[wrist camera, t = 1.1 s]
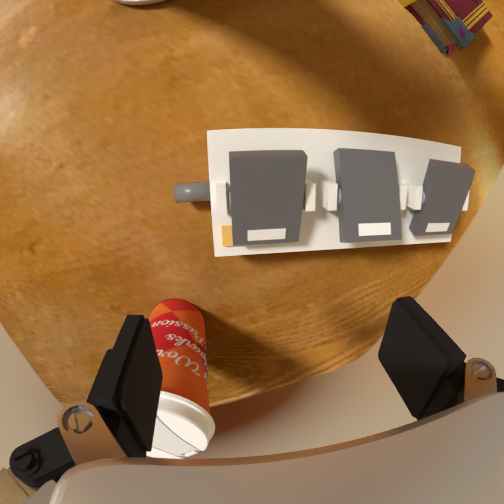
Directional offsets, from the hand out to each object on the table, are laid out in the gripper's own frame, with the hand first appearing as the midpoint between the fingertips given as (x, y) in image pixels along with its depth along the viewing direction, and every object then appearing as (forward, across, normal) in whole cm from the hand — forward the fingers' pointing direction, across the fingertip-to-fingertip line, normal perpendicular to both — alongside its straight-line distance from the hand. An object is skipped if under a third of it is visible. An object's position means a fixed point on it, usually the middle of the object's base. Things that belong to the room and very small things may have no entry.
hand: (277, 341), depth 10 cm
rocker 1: (+12, -1, -3) cm, 13 cm away
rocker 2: (+12, -17, -3) cm, 21 cm away
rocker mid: (+12, -9, -3) cm, 16 cm away
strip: (+18, -8, -3) cm, 20 cm away
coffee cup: (+18, +7, +12) cm, 23 cm away
